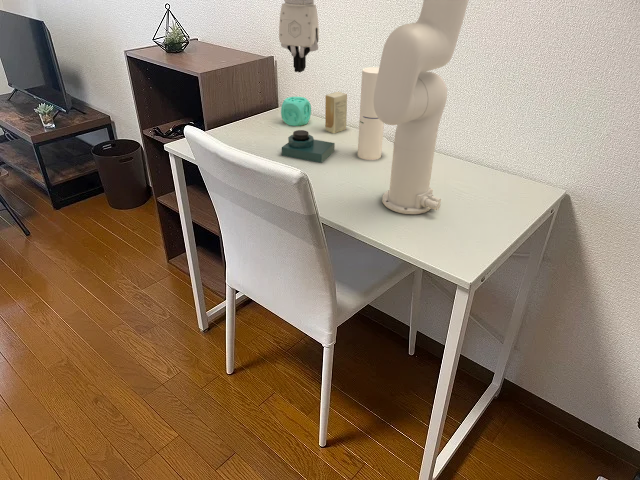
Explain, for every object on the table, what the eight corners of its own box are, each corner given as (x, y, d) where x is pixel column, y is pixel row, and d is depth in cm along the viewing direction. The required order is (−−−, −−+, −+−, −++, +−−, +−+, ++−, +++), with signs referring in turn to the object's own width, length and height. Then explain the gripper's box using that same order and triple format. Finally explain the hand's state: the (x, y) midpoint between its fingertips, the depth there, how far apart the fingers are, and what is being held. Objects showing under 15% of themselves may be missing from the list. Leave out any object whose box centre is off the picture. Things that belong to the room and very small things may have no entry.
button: (311, 137, 148) (311, 131, 147) (304, 143, 145) (304, 136, 144) (297, 135, 150) (297, 129, 149) (290, 140, 146) (290, 134, 145)
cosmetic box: (337, 126, 170) (338, 90, 163) (346, 129, 167) (348, 93, 160) (324, 130, 166) (324, 94, 159) (333, 134, 163) (334, 97, 157)
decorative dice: (291, 117, 177) (290, 95, 173) (311, 120, 174) (311, 98, 170) (281, 124, 171) (280, 101, 167) (301, 127, 168) (301, 104, 164)
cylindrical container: (373, 162, 144) (379, 74, 130) (352, 156, 147) (357, 70, 134) (385, 154, 149) (393, 69, 135) (365, 149, 152) (371, 65, 139)
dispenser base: (334, 151, 151) (334, 137, 148) (321, 163, 143) (321, 148, 140) (296, 144, 155) (296, 130, 152) (281, 155, 147) (281, 141, 145)
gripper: (266, -2, 127) (269, 71, 137) (319, 2, 122) (318, 77, 132) (280, -5, 132) (282, 65, 142) (331, -1, 128) (329, 71, 137)
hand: (299, 71), depth 137 cm, fingers closed
